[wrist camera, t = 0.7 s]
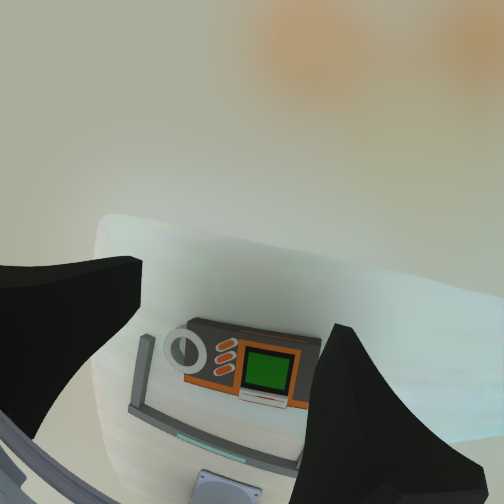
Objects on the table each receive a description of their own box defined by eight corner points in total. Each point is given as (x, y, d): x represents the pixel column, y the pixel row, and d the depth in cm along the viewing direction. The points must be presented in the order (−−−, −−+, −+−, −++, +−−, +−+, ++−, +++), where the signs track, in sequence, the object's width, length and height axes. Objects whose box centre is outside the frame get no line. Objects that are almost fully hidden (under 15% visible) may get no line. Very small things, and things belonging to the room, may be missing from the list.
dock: (302, 470, 26) (301, 480, 24) (134, 406, 30) (126, 412, 28) (339, 402, 26) (340, 410, 24) (146, 333, 30) (137, 337, 28)
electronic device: (163, 316, 27) (324, 348, 23) (177, 311, 30) (325, 338, 26) (161, 378, 27) (310, 414, 23) (174, 369, 30) (312, 400, 26)
